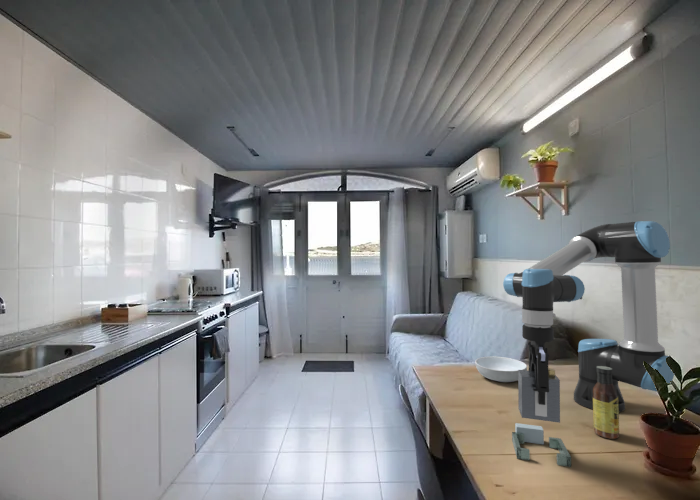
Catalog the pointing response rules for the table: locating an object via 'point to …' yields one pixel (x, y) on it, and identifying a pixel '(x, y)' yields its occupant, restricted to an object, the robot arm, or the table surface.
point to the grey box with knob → (528, 396)
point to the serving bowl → (499, 368)
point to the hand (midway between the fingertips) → (538, 410)
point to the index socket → (556, 443)
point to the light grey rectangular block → (531, 433)
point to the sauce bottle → (605, 405)
